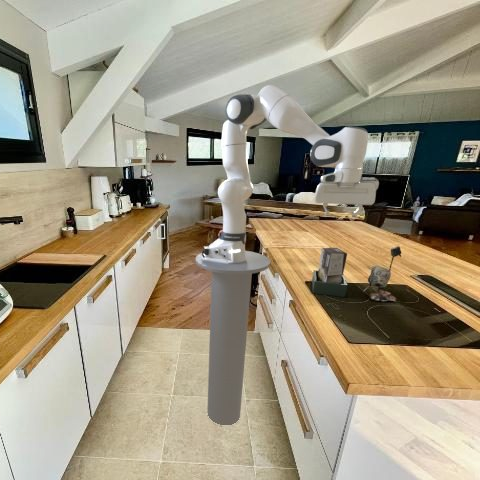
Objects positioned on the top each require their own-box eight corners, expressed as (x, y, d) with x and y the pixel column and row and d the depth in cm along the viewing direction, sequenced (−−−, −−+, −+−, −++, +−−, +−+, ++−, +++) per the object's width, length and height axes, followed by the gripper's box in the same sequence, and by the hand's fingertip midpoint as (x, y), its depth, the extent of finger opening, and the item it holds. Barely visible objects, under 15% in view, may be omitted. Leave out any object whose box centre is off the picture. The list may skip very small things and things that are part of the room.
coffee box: (340, 292, 123) (348, 253, 117) (324, 292, 123) (331, 253, 117) (330, 284, 132) (337, 247, 126) (315, 284, 132) (321, 247, 126)
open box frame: (312, 293, 123) (314, 281, 121) (311, 281, 135) (313, 270, 134) (344, 297, 119) (347, 285, 117) (340, 284, 132) (343, 273, 130)
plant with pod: (362, 291, 124) (374, 242, 117) (396, 297, 119) (409, 246, 112) (361, 298, 118) (373, 247, 110) (396, 305, 113) (411, 251, 105)
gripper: (378, 177, 111) (369, 216, 116) (317, 176, 117) (311, 213, 122) (382, 178, 106) (373, 219, 111) (317, 176, 111) (312, 216, 117)
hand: (340, 216), depth 116 cm, fingers open, 8 cm apart
